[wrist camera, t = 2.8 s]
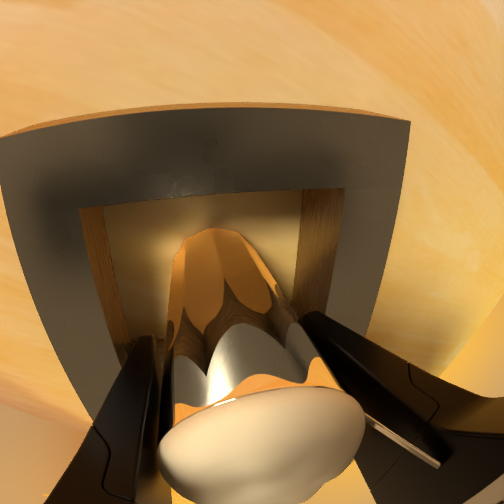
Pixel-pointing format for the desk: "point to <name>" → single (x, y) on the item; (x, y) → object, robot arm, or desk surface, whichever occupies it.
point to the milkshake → (248, 386)
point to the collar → (194, 184)
